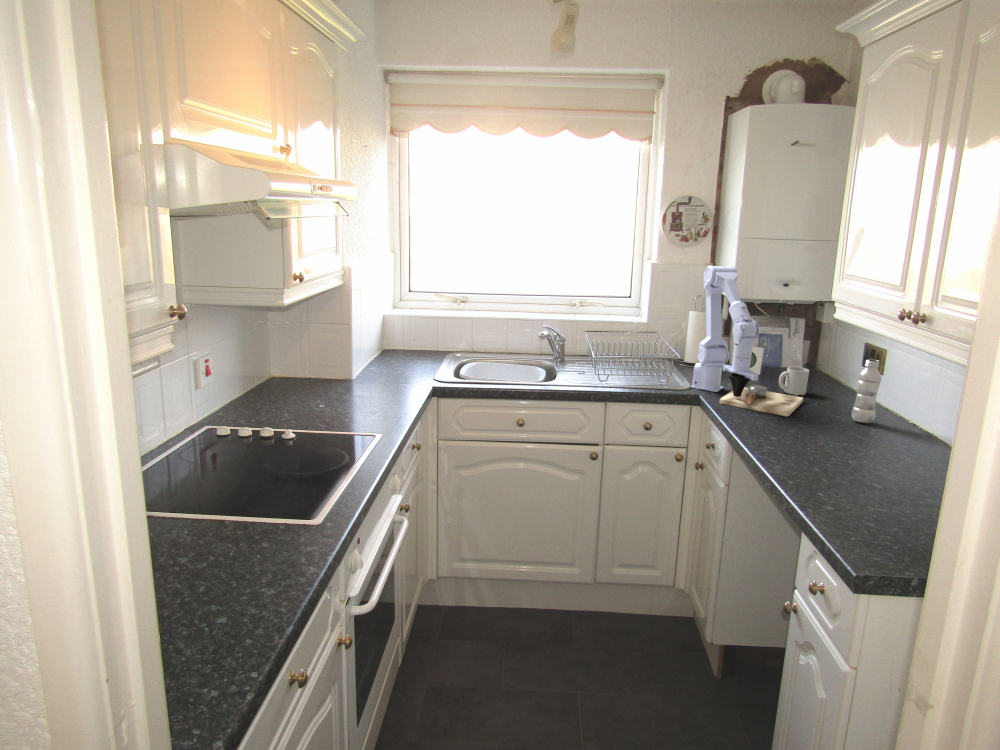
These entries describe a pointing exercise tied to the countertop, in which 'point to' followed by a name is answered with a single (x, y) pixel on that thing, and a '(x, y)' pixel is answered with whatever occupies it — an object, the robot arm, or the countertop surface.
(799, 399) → the lock board
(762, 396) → the lever
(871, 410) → the plastic bottle
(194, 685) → the countertop surface
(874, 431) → the countertop surface
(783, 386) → the cup
